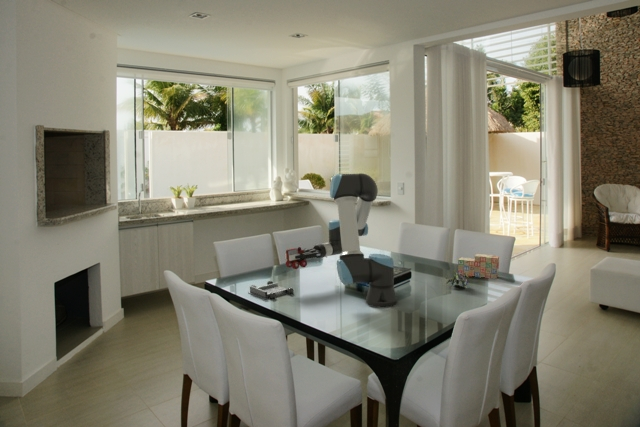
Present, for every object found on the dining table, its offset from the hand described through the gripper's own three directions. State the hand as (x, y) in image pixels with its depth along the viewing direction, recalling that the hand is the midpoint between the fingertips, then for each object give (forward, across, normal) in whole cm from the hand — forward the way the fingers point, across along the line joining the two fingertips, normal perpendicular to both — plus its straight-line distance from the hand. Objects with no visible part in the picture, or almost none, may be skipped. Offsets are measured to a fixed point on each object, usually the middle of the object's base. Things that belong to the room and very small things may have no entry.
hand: (287, 257), depth 243 cm
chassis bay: (+7, +5, -18) cm, 20 cm away
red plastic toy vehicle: (-5, 0, -6) cm, 8 cm away
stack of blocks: (-97, -50, -19) cm, 111 cm away
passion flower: (-69, -56, -18) cm, 91 cm away
